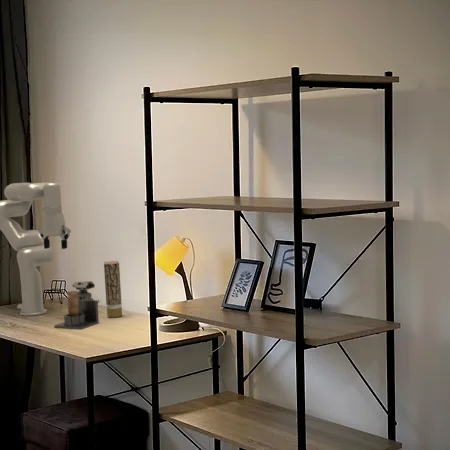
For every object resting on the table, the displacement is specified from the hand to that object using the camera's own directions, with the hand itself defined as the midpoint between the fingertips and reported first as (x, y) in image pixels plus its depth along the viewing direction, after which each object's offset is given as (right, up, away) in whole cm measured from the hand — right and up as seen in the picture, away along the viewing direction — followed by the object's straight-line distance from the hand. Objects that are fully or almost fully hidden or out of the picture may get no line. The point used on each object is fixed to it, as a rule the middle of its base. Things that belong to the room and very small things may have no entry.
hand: (55, 248), depth 370 cm
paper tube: (+26, -31, +3) cm, 41 cm away
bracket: (+12, -33, -13) cm, 37 cm away
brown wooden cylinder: (+11, -32, -14) cm, 37 cm away
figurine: (+11, -31, +15) cm, 36 cm away
